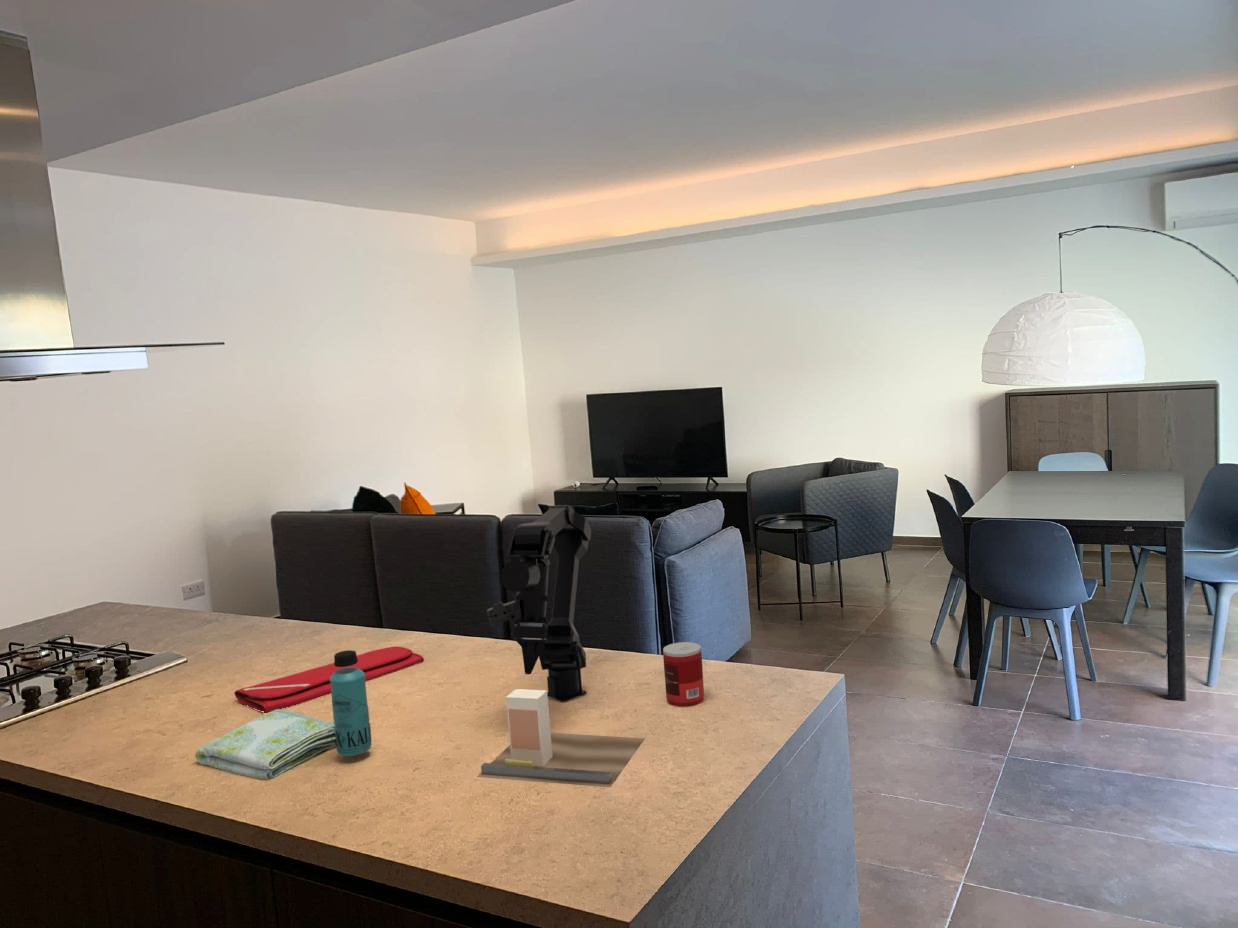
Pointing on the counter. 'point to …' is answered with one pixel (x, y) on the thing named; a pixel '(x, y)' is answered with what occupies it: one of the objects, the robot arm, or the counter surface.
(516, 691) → the cream box
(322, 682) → the dish drying mat
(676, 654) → the canned food
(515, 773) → the price rail
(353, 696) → the beverage bottle
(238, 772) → the towel
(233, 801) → the counter surface
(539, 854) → the counter surface
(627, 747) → the shelf board
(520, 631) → the robot arm
